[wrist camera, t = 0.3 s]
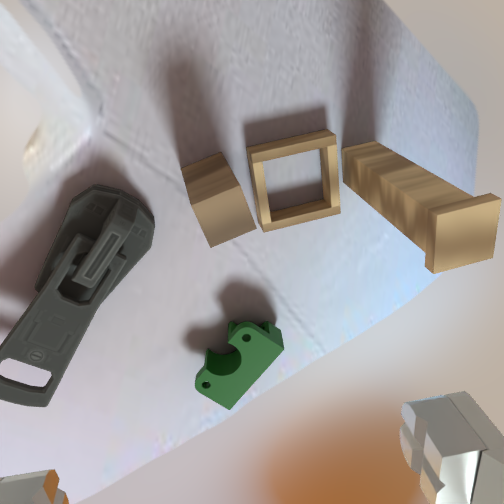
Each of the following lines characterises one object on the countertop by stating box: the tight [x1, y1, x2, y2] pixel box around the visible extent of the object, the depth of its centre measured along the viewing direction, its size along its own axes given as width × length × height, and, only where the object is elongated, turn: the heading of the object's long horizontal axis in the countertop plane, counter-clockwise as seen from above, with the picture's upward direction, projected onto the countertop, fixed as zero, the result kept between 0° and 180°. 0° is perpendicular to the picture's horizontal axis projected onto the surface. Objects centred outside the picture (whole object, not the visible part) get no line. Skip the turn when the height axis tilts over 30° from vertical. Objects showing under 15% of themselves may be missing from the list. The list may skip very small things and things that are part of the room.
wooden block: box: [181, 152, 257, 248], centre depth 43 cm, size 4×4×10 cm
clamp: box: [195, 321, 284, 410], centre depth 57 cm, size 12×6×9 cm, turn 136°
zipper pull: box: [0, 185, 155, 407], centre depth 47 cm, size 9×7×25 cm
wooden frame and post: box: [246, 129, 501, 274], centre depth 42 cm, size 9×15×19 cm, turn 99°
